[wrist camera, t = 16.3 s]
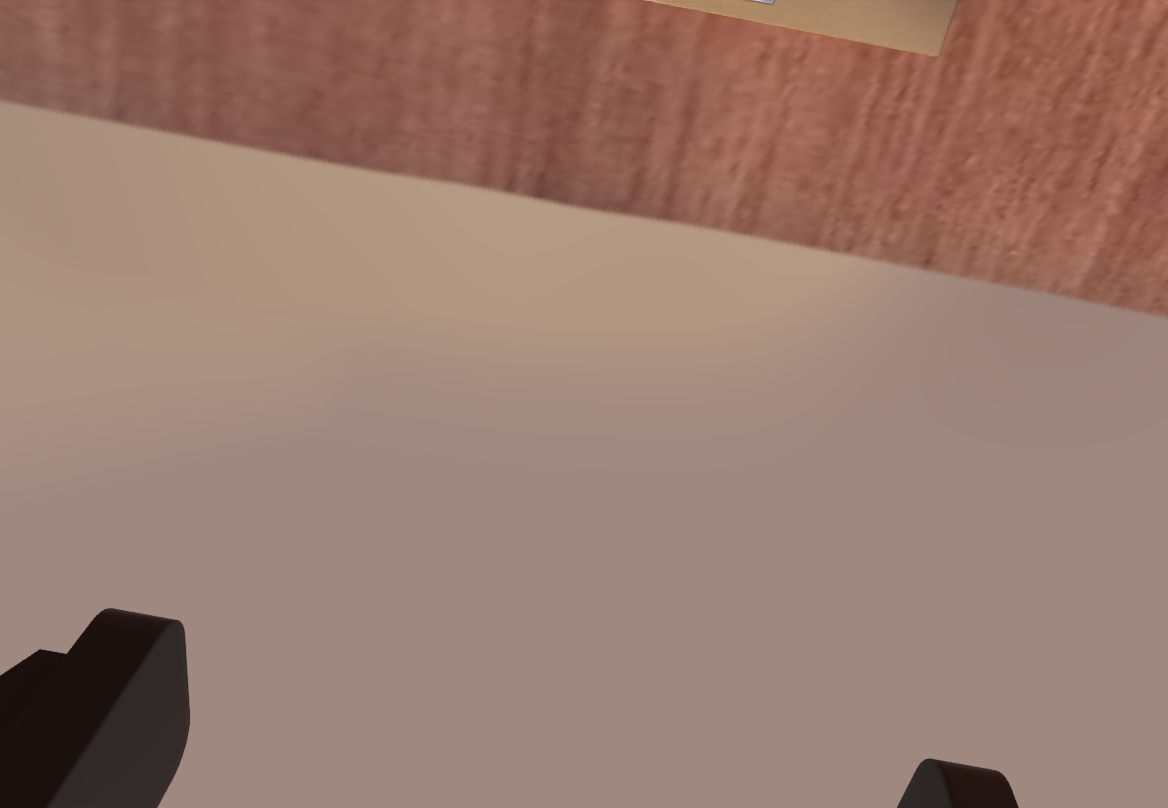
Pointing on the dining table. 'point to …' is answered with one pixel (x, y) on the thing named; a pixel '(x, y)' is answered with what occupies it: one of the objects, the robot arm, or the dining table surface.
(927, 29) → the cutting board
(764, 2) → the steel tongs
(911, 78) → the dining table surface
